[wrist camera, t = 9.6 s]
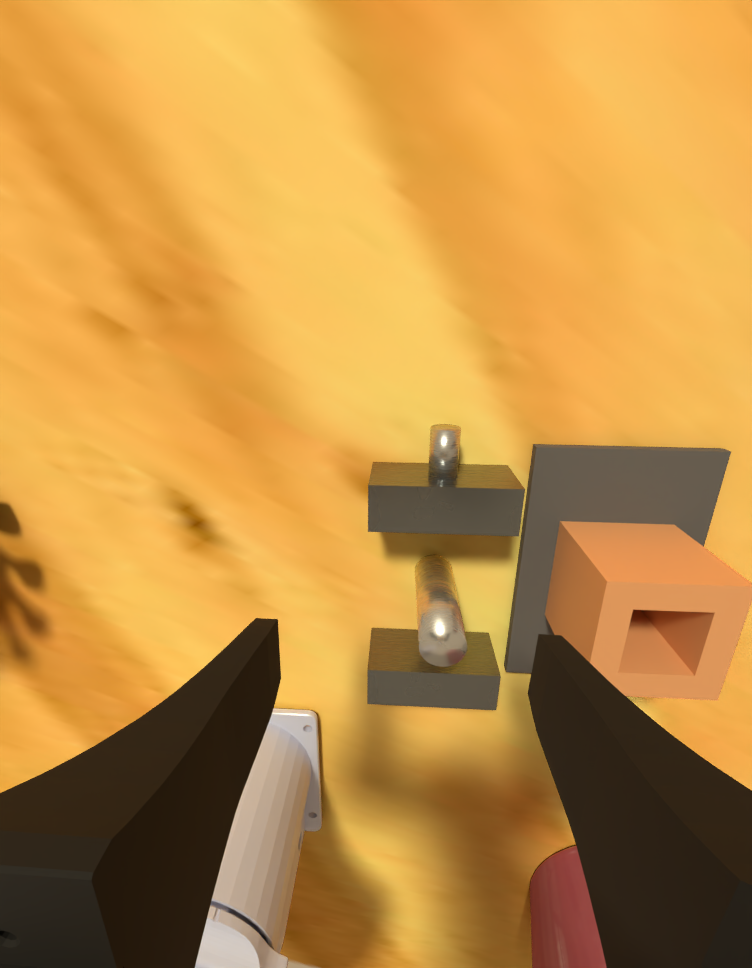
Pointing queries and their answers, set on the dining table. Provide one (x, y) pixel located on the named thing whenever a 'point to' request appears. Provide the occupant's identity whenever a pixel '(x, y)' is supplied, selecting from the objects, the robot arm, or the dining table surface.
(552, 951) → the plant pot
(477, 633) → the vise
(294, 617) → the dining table surface
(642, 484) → the panel
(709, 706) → the dining table surface
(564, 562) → the collar
